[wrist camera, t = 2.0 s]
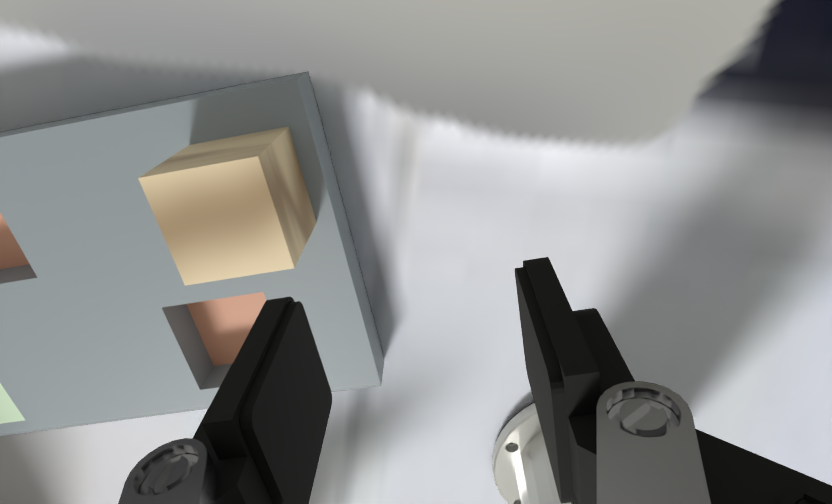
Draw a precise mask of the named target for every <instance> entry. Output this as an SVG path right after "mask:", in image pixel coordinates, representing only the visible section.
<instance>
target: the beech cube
mask: <svg viewBox="0 0 832 504" xmlns="http://www.w3.org/2000/svg"><path fill="white" fill-rule="evenodd" d="M138 179H139V181H140V184H141V186H142V188H143V191H144V193H145V195H146V197H147V200H148V202H149V204H150V207H151V209H152V211H153V214H154V216H155V218H156V220H157V223H158V225H159V227H160V230H161V232H162V234H163V236H164V239H165V241H166V243H167V246H168V248H169V250H170V253H171V255H172V257H173V259H174V262H175V264H176V266H177V269H178V271H179V273H180V275H181V278H182V280H183V282H184V285H185V286H186V285H192V284H199V283H205V282H211V281H218V280H224V279H230V278H237V277H243V276H249V275H256V274H262V273H268V272H274V271H281V270H287V269H293V268H295V266H296V264H297V262H298V260H299V258H300V256H301V254H302V252H303V250H304V248H305V246H306V243H307V241H308V239H309V237H310V235H311V233H312V231H313V229H314V227H315V225H316V223H317V222H316V219H315V215H314V212H313V208H312V205H311V201H310V198H309V195H308V191H307V188H306V184H305V181H304V177H303V174H302V171H301V167H300V164H299V160H298V157H297V154H296V150H295V147H294V143H293V140H292V136H291V133H290V130H289V126H288V127H283V128H278V129H272V130H267V131H262V132H256V133H251V134H246V135H240V136H235V137H230V138H224V139H219V140H214V141H208V142H203V143H198V144H192V145H188V146H187V147H185V148H184V149H182V150H181V151H179V152H178V153H176V154H175V155H173V156H171V157H170V158H168V159H167V160H165V161H164V162H162V163H161V164H159V165H157V166H156V167H154V168H153V169H151V170H150V171H148V172H147V173H145V174H144V175H142V176H140V177H139V178H138Z"/></svg>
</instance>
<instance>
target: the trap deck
mask: <svg viewBox="0 0 832 504" xmlns="http://www.w3.org/2000/svg"><path fill="white" fill-rule="evenodd" d="M288 126H289V130H290V133H291V136H292V140H293V143H294V147H295V150H296V154H297V157H298V160H299V164H300V167H301V171H302V174H303V177H304V181H305V184H306V188H307V191H308V195H309V198H310V201H311V205H312V208H313V212H314V215H315V219H316V222H317V223H316V225H315V227H314V229H313V231H312V233H311V235H310V237H309V239H308V241H307V243H306V246H305V248H304V250H303V252H302V254H301V256H300V258H299V260H298V262H297V264H296V266H295V268H293V269H287V270H281V271H274V272H268V273H262V274H256V275H249V276H243V277H237V278H230V279H224V280H218V281H211V282H205V283H199V284H192V285H186V286H185V285H184V282H183V280H182V278H181V275H180V273H179V271H178V269H177V266H176V264H175V262H174V259H173V257H172V255H171V253H170V250H169V248H168V246H167V243H166V241H165V239H164V236H163V234H162V232H161V230H160V227H159V225H158V223H157V220H156V218H155V216H154V214H153V211H152V209H151V207H150V204H149V202H148V200H147V197H146V195H145V193H144V191H143V188H142V186H141V184H140V181H139V179H138V178H139V177H140V176H142V175H144V174H145V173H147V172H148V171H150V170H151V169H153V168H154V167H156V166H157V165H159V164H161V163H162V162H164V161H165V160H167V159H168V158H170V157H171V156H173V155H175V154H176V153H178V152H179V151H181V150H182V149H184V148H185V147H187V146H188V145H192V144H198V143H203V142H208V141H214V140H219V139H224V138H230V137H235V136H240V135H246V134H251V133H256V132H262V131H267V130H272V129H278V128H283V127H288ZM284 297H292V298H293V299H294V301H295V302H297V301H300V302H301V303H302V304H303V307H304V310H305V313H306V316H307V319H308V322H309V325H310V328H311V331H312V334H313V337H314V340H315V343H316V346H317V349H318V352H319V355H320V358H321V361H322V364H323V367H324V370H325V373H326V376H327V380H328V383H329V386H330V389H331V392H336V391H344V390H351V389H359V388H366V387H374V386H381V382H382V374H383V366H384V357H383V353H382V349H381V345H380V342H379V338H378V334H377V330H376V326H375V323H374V319H373V315H372V311H371V307H370V304H369V300H368V296H367V292H366V288H365V285H364V281H363V277H362V273H361V270H360V266H359V262H358V258H357V254H356V251H355V247H354V243H353V239H352V235H351V232H350V228H349V224H348V220H347V217H346V213H345V209H344V205H343V201H342V198H341V194H340V190H339V186H338V182H337V179H336V175H335V171H334V167H333V163H332V160H331V156H330V152H329V148H328V145H327V141H326V137H325V133H324V129H323V126H322V122H321V118H320V114H319V110H318V107H317V103H316V99H315V95H314V91H313V88H312V84H311V80H310V76H309V73H308V72H304V73H299V74H293V75H288V76H283V77H278V78H273V79H268V80H263V81H258V82H253V83H248V84H243V85H238V86H233V87H227V88H222V89H217V90H212V91H207V92H202V93H197V94H192V95H187V96H182V97H177V98H172V99H167V100H161V101H156V102H151V103H146V104H141V105H136V106H131V107H126V108H121V109H116V110H111V111H106V112H101V113H96V114H90V115H85V116H80V117H75V118H70V119H65V120H60V121H55V122H50V123H45V124H40V125H35V126H30V127H24V128H19V129H14V130H9V131H4V132H0V436H6V435H13V434H21V433H28V432H36V431H43V430H51V429H58V428H66V427H73V426H81V425H88V424H96V423H103V422H111V421H118V420H126V419H133V418H141V417H148V416H156V415H163V414H171V413H179V412H186V411H194V410H201V409H208V408H209V406H210V405H211V403H212V401H213V399H214V397H215V395H216V393H217V391H218V389H219V387H220V386H221V384H222V382H223V380H224V378H225V376H226V374H227V372H228V370H229V368H230V367H231V365H232V363H233V362H234V360H235V358H236V357H237V355H238V353H239V351H240V349H241V347H242V345H243V343H244V341H245V339H246V337H247V336H248V334H249V332H250V330H251V328H252V326H253V324H254V322H255V320H256V318H257V317H258V315H259V313H260V311H261V309H262V307H263V305H264V303H265V302H266V300H271V299H277V298H284Z"/></svg>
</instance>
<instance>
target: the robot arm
mask: <svg viewBox="0 0 832 504" xmlns="http://www.w3.org/2000/svg"><path fill="white" fill-rule="evenodd" d="M515 277H516V286H517V294H518V303H519V311H520V320H521V328H522V337H523V345H524V354H525V362H526V369H527V374H528V379H529V383H530V387H531V391H532V395H533V398H534V402H535V403H533V404H531V405H530V406H528V407H526V408H524V409H523V410H522V411H520V412H519V413H518V414H517V415H516V416H515V417H513V418H512V419H511V420H510V421H509V422H508V424H507V425H506V426H505V427H504V429H503V430H502V431H501V433H500V435H499V437H498V439H497V441H496V443H495V446H494V451H493V455H492V463H493V473H494V478H495V484H496V486H497V488H498V490H499V492H500V494H501V496H502V497H503V498H504V499H505V501H506V502H507V503H508V504H832V486H831V485H828V484H826V483H824V482H821V481H819V480H817V479H814V478H812V477H809V476H807V475H805V474H802V473H800V472H797V471H795V470H793V469H790V468H788V467H785V466H783V465H781V464H778V463H776V462H773V461H771V460H769V459H766V458H764V457H761V456H759V455H757V454H754V453H752V452H750V451H747V450H745V449H742V448H740V447H738V446H735V445H733V444H730V443H728V442H726V441H723V440H721V439H718V438H716V437H714V436H711V435H709V434H706V433H704V432H702V431H699V430H697V429H695V426H694V421H693V416H692V413H691V411H690V408H689V406H688V404H687V403H686V402H685V401H684V400H683V399H682V398H681V397H680V396H679V395H678V394H676V393H675V392H673V391H671V390H670V389H668V388H666V387H663V386H660V385H657V384H654V383H648V382H641V381H636V382H635V380H634V379H633V377H632V375H631V373H630V371H629V369H628V367H627V365H626V363H625V361H624V360H623V358H622V356H621V354H620V352H619V350H618V348H617V346H616V344H615V343H614V341H613V339H612V337H611V335H610V333H609V331H608V329H607V327H606V326H605V324H604V322H603V320H602V318H601V316H600V314H599V312H598V311H597V310H596V309H595V308H592V309H585V310H578V311H572V309H571V307H570V305H569V302H568V300H567V298H566V296H565V293H564V291H563V289H562V287H561V285H560V282H559V280H558V278H557V276H556V273H555V271H554V269H553V267H552V264H551V262H550V260H549V258H548V257H545V258H539V259H532V260H526V261H523V267H521V268H515ZM331 405H332V394H331V389H330V386H329V383H328V380H327V376H326V373H325V370H324V367H323V364H322V361H321V358H320V355H319V352H318V349H317V346H316V343H315V340H314V337H313V334H312V331H311V328H310V325H309V322H308V319H307V316H306V313H305V310H304V307H303V304H302V303H301V302H300V301H297V302H295V301H294V299H293V298H292V297H284V298H277V299H271V300H266V302H265V303H264V305H263V307H262V309H261V311H260V313H259V315H258V317H257V318H256V320H255V322H254V324H253V326H252V328H251V330H250V332H249V334H248V336H247V337H246V339H245V341H244V343H243V345H242V347H241V349H240V351H239V353H238V355H237V357H236V358H235V360H234V362H233V363H232V365H231V367H230V368H229V370H228V372H227V374H226V376H225V378H224V380H223V382H222V384H221V386H220V387H219V389H218V391H217V393H216V395H215V397H214V399H213V401H212V403H211V405H210V406H209V408H208V410H207V412H206V414H205V416H204V418H203V420H202V422H201V423H200V425H199V427H198V429H197V431H196V433H195V435H194V437H193V439H189V438H184V439H179V440H174V441H171V442H169V443H166V444H164V445H162V446H160V447H158V448H157V449H155V450H153V451H152V452H150V453H149V454H147V455H146V456H145V457H144V458H143V459H141V460H140V461H139V462H138V463H137V464H136V466H135V467H134V468H133V469H132V470H131V472H130V473H129V475H128V477H127V479H126V481H125V484H124V487H123V490H122V494H121V497H120V500H119V503H118V504H308V503H309V499H310V495H311V491H312V486H313V482H314V478H315V474H316V469H317V465H318V461H319V456H320V452H321V448H322V444H323V439H324V435H325V431H326V427H327V422H328V418H329V414H330V409H331Z"/></svg>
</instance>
